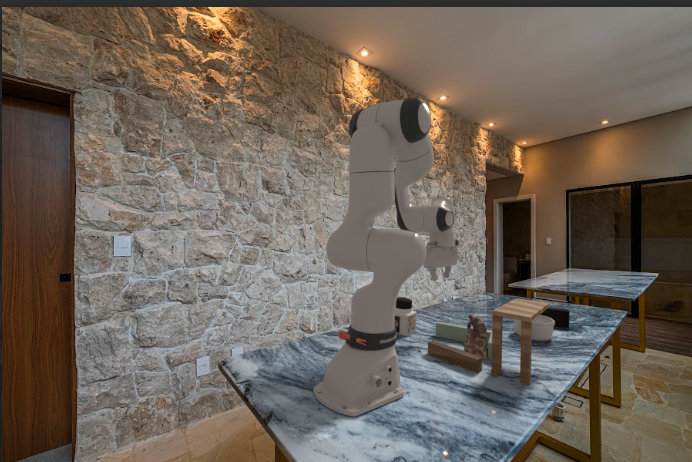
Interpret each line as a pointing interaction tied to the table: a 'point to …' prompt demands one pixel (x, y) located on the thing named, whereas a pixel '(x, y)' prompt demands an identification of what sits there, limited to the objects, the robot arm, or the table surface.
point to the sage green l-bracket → (459, 334)
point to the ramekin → (538, 328)
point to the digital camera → (558, 316)
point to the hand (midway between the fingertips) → (440, 279)
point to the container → (404, 317)
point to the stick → (455, 356)
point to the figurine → (476, 338)
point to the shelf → (526, 314)
